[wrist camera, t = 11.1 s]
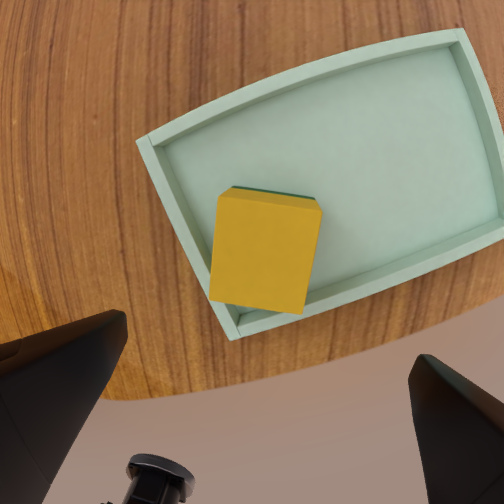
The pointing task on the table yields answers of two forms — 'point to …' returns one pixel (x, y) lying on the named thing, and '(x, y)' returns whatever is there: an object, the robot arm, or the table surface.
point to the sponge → (264, 249)
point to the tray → (346, 166)
